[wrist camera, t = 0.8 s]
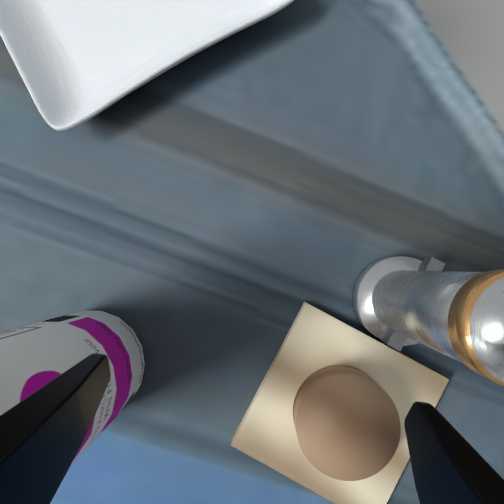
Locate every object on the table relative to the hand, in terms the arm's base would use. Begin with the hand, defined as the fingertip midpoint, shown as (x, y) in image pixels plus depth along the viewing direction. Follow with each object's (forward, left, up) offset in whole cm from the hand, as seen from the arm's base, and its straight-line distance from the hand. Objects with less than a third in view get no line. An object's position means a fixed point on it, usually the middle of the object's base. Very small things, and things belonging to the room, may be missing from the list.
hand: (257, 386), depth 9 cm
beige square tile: (-5, -8, -15) cm, 18 cm away
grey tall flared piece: (+5, -10, -15) cm, 19 cm away
